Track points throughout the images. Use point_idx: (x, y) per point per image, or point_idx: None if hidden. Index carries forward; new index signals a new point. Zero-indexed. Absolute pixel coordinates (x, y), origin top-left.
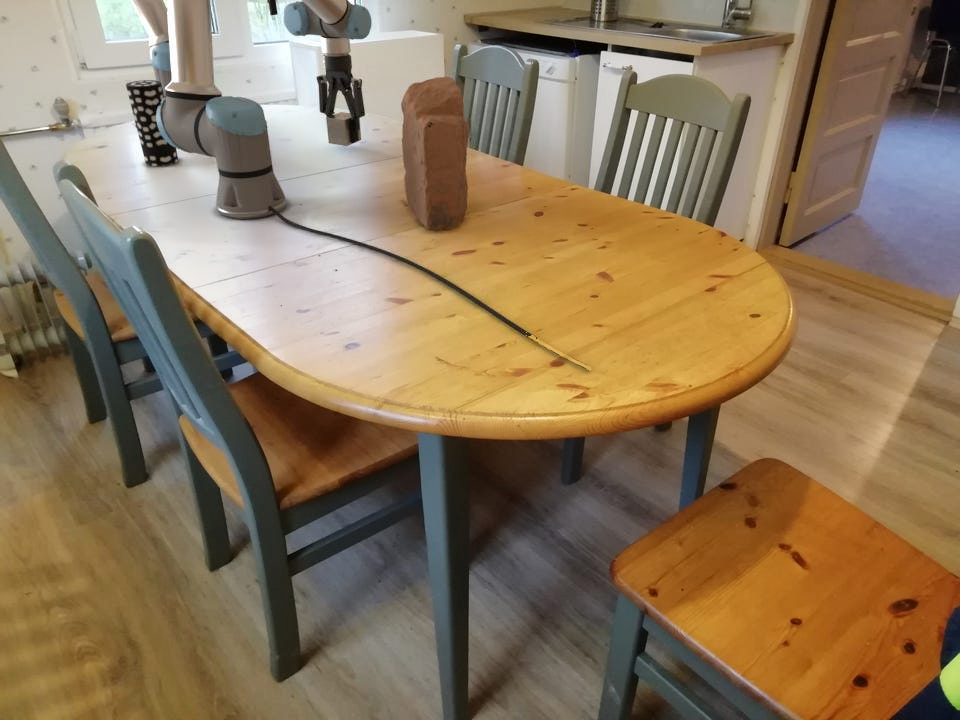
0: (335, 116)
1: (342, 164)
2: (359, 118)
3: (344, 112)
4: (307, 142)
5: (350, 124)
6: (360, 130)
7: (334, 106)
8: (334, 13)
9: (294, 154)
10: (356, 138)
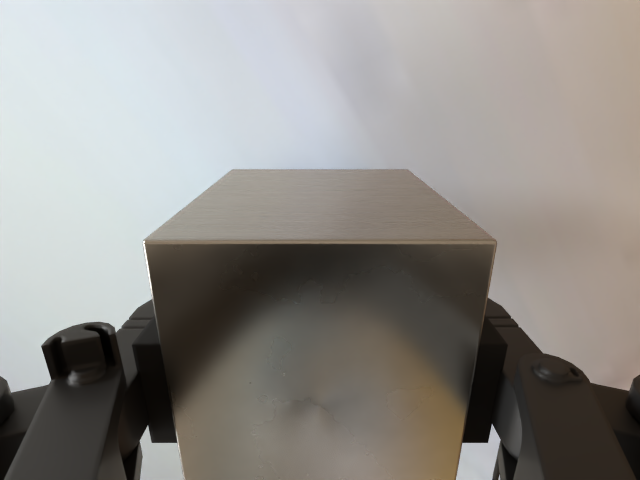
0: (259, 461)
1: (465, 471)
2: (474, 226)
3: (216, 249)
4: (11, 250)
5: None
6: (428, 186)
7: (106, 459)
8: None
9: (151, 449)
10: None
